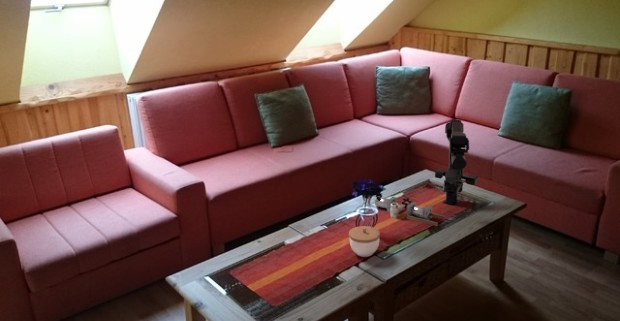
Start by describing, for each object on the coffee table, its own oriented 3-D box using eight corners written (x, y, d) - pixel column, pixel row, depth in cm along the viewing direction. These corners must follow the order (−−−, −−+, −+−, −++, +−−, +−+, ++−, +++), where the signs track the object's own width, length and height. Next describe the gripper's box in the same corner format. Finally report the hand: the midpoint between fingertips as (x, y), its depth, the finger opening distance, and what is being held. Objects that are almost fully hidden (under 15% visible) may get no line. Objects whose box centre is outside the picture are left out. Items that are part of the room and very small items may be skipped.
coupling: (406, 217, 246) (406, 205, 244) (412, 212, 250) (412, 201, 248) (426, 222, 240) (426, 210, 238) (431, 217, 244) (432, 206, 242)
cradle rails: (415, 211, 251) (415, 208, 250) (445, 218, 242) (445, 216, 242) (406, 218, 244) (407, 215, 244) (437, 226, 236) (437, 223, 235)
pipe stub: (374, 208, 256) (374, 197, 254) (380, 204, 260) (380, 193, 259) (390, 212, 251) (390, 201, 249) (396, 208, 255) (396, 197, 253)
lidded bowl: (345, 257, 213) (345, 233, 209) (353, 243, 224) (353, 220, 220) (375, 262, 209) (375, 237, 205) (382, 247, 220) (382, 223, 216)
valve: (396, 220, 243) (413, 212, 251) (397, 207, 241) (413, 199, 248) (386, 215, 248) (402, 208, 255) (386, 203, 246) (402, 195, 253)
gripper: (430, 163, 233) (429, 195, 239) (471, 171, 223) (468, 204, 228) (440, 156, 242) (439, 187, 247) (480, 163, 231) (478, 195, 236)
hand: (455, 194), depth 239 cm, fingers closed
